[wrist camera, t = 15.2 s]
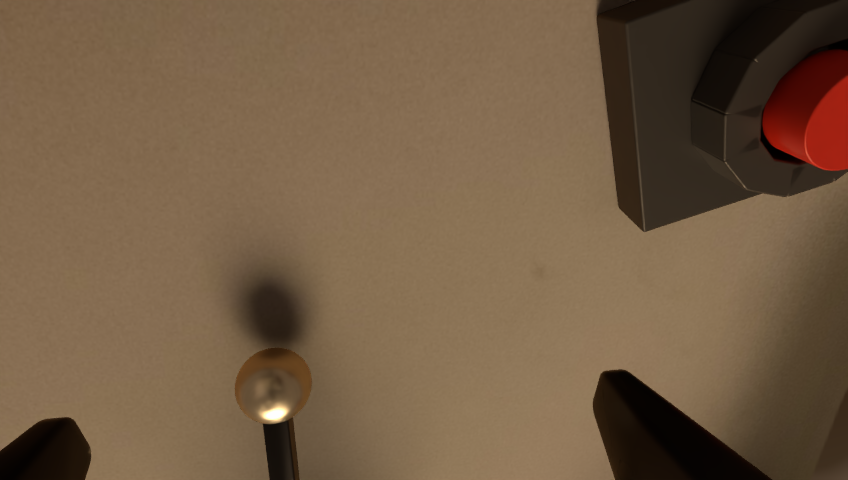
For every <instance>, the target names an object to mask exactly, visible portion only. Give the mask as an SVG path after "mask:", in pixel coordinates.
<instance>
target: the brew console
mask: <svg viewBox="0 0 848 480" xmlns="http://www.w3.org/2000/svg"><path fill="white" fill-rule="evenodd" d="M597 24H598V33H599V41H600V50H601V59H602V67H603V76H604V85H605V93H606V102H607V111H608V119H609V128H610V136H611V145H612V154H613V162H614V171H615V180H616V188H617V197H618V206H619V208H620V209H621V210H622V211H623V212H624V213H625V214H626V215H627V216H628V217H629V218H630V219H631V220H632V221H633V222H634V223H635V224H636V225H637V226H638V227H639V228H640V229H641V230H642V231H643V232H646V231H649V230H652V229H655V228H658V227H661V226H664V225H667V224H671V223H674V222H677V221H680V220H683V219H686V218H689V217H692V216H695V215H698V214H701V213H704V212H707V211H710V210H713V209H716V208H719V207H722V206H726V205H729V204H732V203H735V202H738V201H741V200H744V199H747V198H750V197H753V196H756V195H759V194H762V193H764V194H770V195H776V196H782V197H786V196H792V195H795V194H798V193H801V192H804V191H807V190H810V189H813V188H816V187H819V186H822V185H825V184H829V183H832V182H833V181H836V180H837V179H839V178H840V177H841V176H843V175H844V174H845V173H846V172H848V169H844V170H832V171H831V170H824V169H820V168H818V167H816V166H814V165H812V164H809V163H807V162H805V161H803V160H801V159H798V158H796V157H794V156H792V155H790V154H787V153H785V152H783V151H781V150H779V149H777V148H775V147H773V146H772V145H771V144H770V143H769V142H768V141H767V139H766V137H765V135H764V132H763V127H762V118H763V112H764V108H765V105H766V103H767V101H768V99H769V98H770V96H771V94H772V92H773V90H774V89H775V87H776V85H777V83H778V82H779V81H780V79H781V78H782V77H783V76H784V75H785V74H786V73H787V72H788V71H790V70H791V69H792V68H793V67H794V66H795V65H796V64H798V63H799V62H801V61H802V60H804V59H805V58H807V57H809V56H811V55H813V54H816V53H818V52H822V51H826V50H832V49H841V50H847V51H848V0H637V1H634V2H632V3H629V4H626V5H623V6H621V7H618V8H615V9H612V10H610V11H607V12H604V13H601V14H599V15H598V16H597Z"/></svg>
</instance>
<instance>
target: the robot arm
mask: <svg viewBox="0 0 848 480" xmlns="http://www.w3.org/2000/svg"><path fill="white" fill-rule="evenodd" d="M593 411H594V415H595V418H596V422H597V425H598V428H599V431H600V434H601V437H602V440H603V443H604V446H605V449H606V453H607V456H608V459H609V462H610V465H611V468H612V471H613V474H614V477H615V480H772V479H771V478H769V477H768V476H767V475H765V474H764V473H763V472H761V471H760V470H759V469H757V468H756V467H755V466H753V465H752V464H751V463H749V462H748V461H747V460H745V459H744V458H743V457H741V456H740V455H739V454H737V453H736V452H735V451H733V450H732V449H731V448H729V447H728V446H727V445H725V444H724V443H723V442H721V441H720V440H719V439H717V438H716V437H715V436H713V435H712V434H711V433H710V432H708V431H707V430H706V429H704V428H703V427H702V426H700V425H699V424H698V423H696V422H695V421H694V420H692V419H691V418H690V417H688V416H687V415H686V414H684V413H683V412H682V411H680V410H679V409H678V408H676V407H675V406H674V405H672V404H671V403H670V402H668V401H667V400H666V399H664V398H663V397H662V396H660V395H659V394H658V393H656V392H655V391H654V390H652V389H651V388H650V387H648V386H647V385H646V384H644V383H643V382H642V381H640V380H639V379H638V378H636V377H635V376H634V375H632V374H631V373H630V372H628V371H626V370H609V371H604V372H603V373H602V374H601V375H600V378H599V381H598V385H597V388H596V392H595V396H594V399H593ZM90 461H91V449H90V446H89V444H88V442H87V441H86V439H85V437H84V436H83V434H82V432H81V431H80V429H79V427H78V426H77V424H76V422H75V421H74V420H73V419H71V418H69V417H63V418H52V419H45V420H41V421H39V422H38V423H36V424H35V425H33V426H32V427H31V428H29V429H28V430H27V431H26V432H24V433H23V434H22V435H20V436H19V437H18V438H16V439H15V440H14V441H13V442H11V443H10V444H9V445H7V446H6V447H5V448H3V449H2V450H1V451H0V480H85V478H86V475H87V471H88V468H89V465H90Z"/></svg>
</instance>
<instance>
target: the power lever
mask: <svg viewBox="0 0 848 480" xmlns="http://www.w3.org/2000/svg"><path fill="white" fill-rule="evenodd" d="M311 386H312V378H311V373H310V370H309V367H308V365H307V364H306V362H305V361H304V359H303V358H302V357H301V356H299V355H298V354H297V353H295V352H293V351H291V350H289V349H285V348H279V347H275V348H268V349H264V350H262V351H259V352H257V353H256V354H254V355H253V356H251V357H250V358H249V359H248V360H247V361H246V362H245V363H244V364H243V366H242V367H241V369H240V371H239V373H238V375H237V378H236V383H235V396H236V400H237V403H238V405H239V407H240V409H241V410H242V411H243V413H244V414H245V415H246V416H248V417H249V418H251V419H252V420H254V421H256V422H259V423H263V428H264V436H265V445H266V453H267V461H268V470H269V478H270V480H300V479H299V470H298V460H297V451H296V442H295V432H294V423H293V416H295V415H296V414H297V413H298V412H299V411H300V410H301V409H302V408H303V407H304V405H305V404H306V402H307V400H308V398H309V395H310V392H311Z"/></svg>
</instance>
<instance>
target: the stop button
mask: <svg viewBox="0 0 848 480" xmlns="http://www.w3.org/2000/svg"><path fill="white" fill-rule="evenodd" d="M762 127H763V132H764V135H765V137H766V139H767V141H768V142H769V143H770V144H771V145H772V146H773V147H775V148H777V149H779V150H781V151H783V152H785V153H787V154H790V155H792V156H794V157H796V158H798V159H801V160H803V161H805V162H807V163H809V164H812V165H814V166H816V167H818V168H820V169H824V170H831V171H832V170H844V169H848V51H847V50H841V49H832V50H826V51H822V52H818V53H816V54H813V55H811V56H809V57H807V58H805V59H804V60H802V61H801V62H799V63H798V64H796V65H795V66H794V67H793V68H792V69H791V70H790V71H788V72H787V73H786V74H785V75H784V76H783V77H782V78H781V79H780V81H779V82H778V83H777V85H776V87H775V89H774V90H773V92H772V94H771V96H770V98H769V99H768V101H767V103H766V105H765V108H764V112H763V118H762Z"/></svg>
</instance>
